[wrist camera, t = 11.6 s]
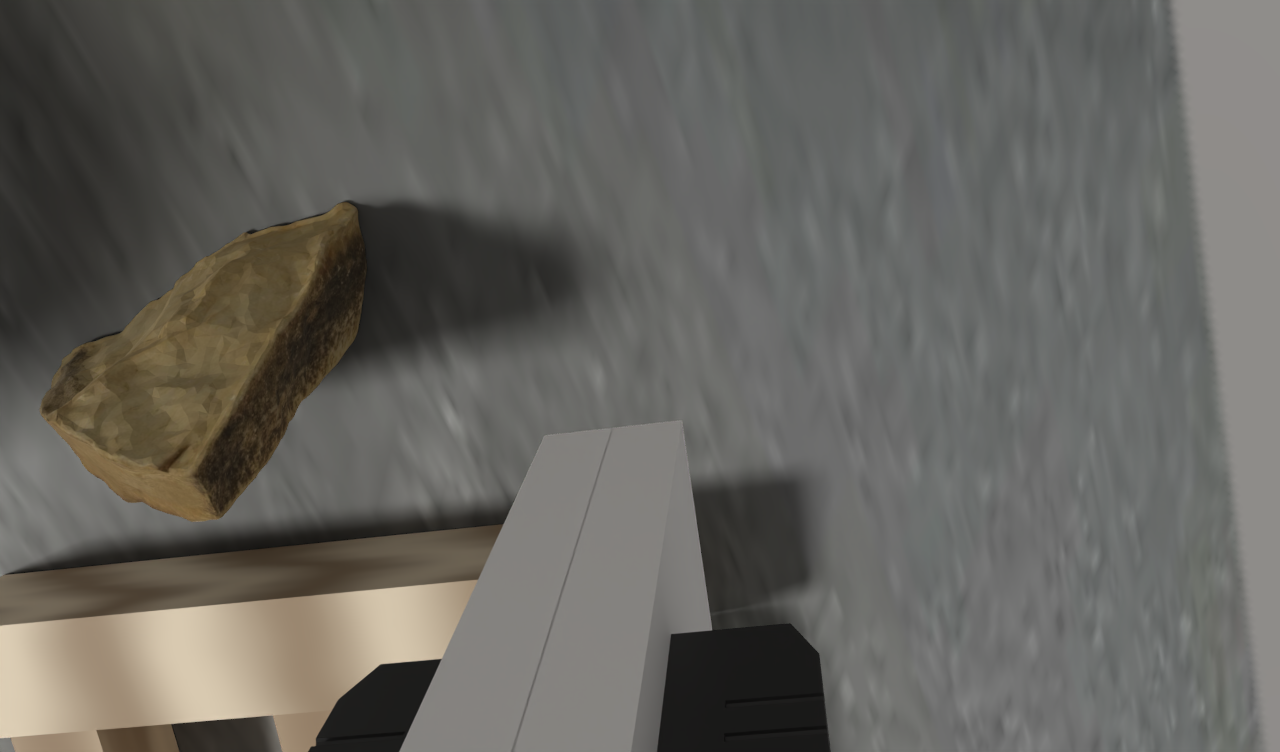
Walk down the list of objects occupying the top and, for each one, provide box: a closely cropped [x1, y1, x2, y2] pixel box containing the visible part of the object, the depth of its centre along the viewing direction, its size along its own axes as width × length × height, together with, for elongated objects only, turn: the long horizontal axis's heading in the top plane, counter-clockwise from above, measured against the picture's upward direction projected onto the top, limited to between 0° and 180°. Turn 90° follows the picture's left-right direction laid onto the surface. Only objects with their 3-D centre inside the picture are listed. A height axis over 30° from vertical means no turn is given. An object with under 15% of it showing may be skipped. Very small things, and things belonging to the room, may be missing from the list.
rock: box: [40, 202, 367, 522], centre depth 36 cm, size 11×9×10 cm
